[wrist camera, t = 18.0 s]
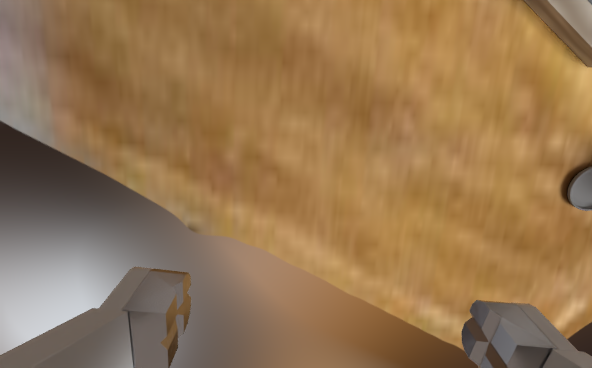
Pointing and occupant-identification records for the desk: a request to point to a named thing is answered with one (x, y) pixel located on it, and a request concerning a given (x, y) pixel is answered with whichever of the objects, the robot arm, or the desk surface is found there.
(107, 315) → the robot arm
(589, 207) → the pocket watch
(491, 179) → the desk surface
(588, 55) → the dock
